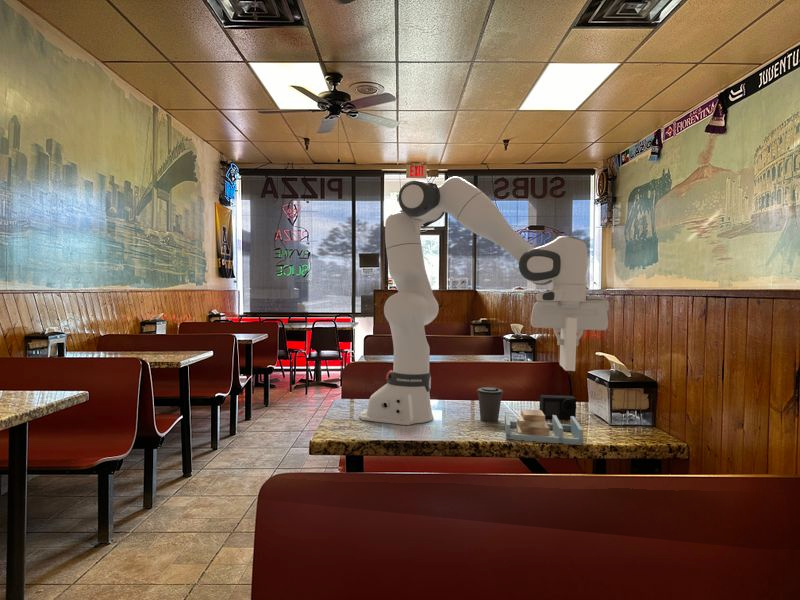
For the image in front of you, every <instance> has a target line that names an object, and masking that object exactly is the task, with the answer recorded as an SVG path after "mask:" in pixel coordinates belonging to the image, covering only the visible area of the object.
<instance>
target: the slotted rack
mask: <svg viewBox="0 0 800 600" xmlns="http://www.w3.org/2000/svg"><path fill="white" fill-rule="evenodd" d="M510 419H511V418H510V413H509V411H505V412H504V432H505V440H506V439H516V440H515V441H518V440H524V441H523V442H532V441H536V443H546V442H547V443H548V442H549V443H548V444H559V443H563V444H562V445H575V446H577V445H578V446H583V445H584V428H582V426H581V424H580V423H579V421H578V420H577V418H576V419H575V417H574V416H570V420H569V424H564V423H563V424H562V423H561V422H560V420H558V418H557V416H556V415H552V420H551V422H549V423H547V422H545V423H546V424H547V425H548V427H549V431H550V430H552V432H553V434H554V435H553V436H552V435H549V436H541V435H527V434H517V433H513V432H512V433H511V428H516V424H517V420H510ZM564 431H567V432H568V431H569V432H571V434H572V436H573V437H567V436H566V437H565V436H564Z"/></svg>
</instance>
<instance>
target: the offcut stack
mask: <svg viewBox="0 0 800 600" xmlns="http://www.w3.org/2000/svg"><path fill="white" fill-rule="evenodd" d="M520 411H521V412H520V416H519V418H517V420H516V421H517V424H516V427H515V428H516V434H527V435H541V436H550V429H549V427H548V425H547V424H546V423H547V422H546V419H545V415H544V413H543V412H542V410H540V409H525V408H523V409H520Z"/></svg>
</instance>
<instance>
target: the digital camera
mask: <svg viewBox="0 0 800 600" xmlns="http://www.w3.org/2000/svg"><path fill="white" fill-rule="evenodd" d="M539 410H542V412H543V413H544V415H545V420H548V421H549V420H551V421H552V415H556V416H557V418H558V420H559V421H570V416H574V417H575V419H576V420H577V418H576V417H577V416H576V415H577V397H574V396H573V395H558V394H557V395H555V394H554V395H553V394H540V395H539Z"/></svg>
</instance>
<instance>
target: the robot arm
mask: <svg viewBox="0 0 800 600" xmlns="http://www.w3.org/2000/svg"><path fill="white" fill-rule="evenodd" d="M397 196H398V197H397V198H398V199H397V201H398V205H399V207H400V209H401V210H399V211H395V212H392V213H391V214H390V215H389V216H387V218H386V219H385V227H384V239H385V249H386V250H385V251H386V258H387V263H388V264H387V265H388V272H389V276H390V277H391V278H392V280H393V282H394V284H395V286H396V290H397V292H396V293H394V294H392V295H390V296H389V297H388V298H387V299H386V301H385V303H384V305H383V314H384V317H385V319H386V321H387V322H388V323H389V327H390V333H391V338H392V345H393V370H391V369H390V370H389V371H388V372H387V373H386V383H385V384H384V385H383V386H381V387H380V388H379V389H377V390H376V391H375V392H374V393H372V394H371V396H370V397H369V400H368V403H367V408H365V409H363V410H361V412H360V413H359V419H360V420H363V421H369V422H376V423H377V422H378V423H387V424H394V425H402V426H403V425H404V426H410V425H413V424H421V423H427V422H430V421H433V420H434V415H433V411H432V404H431V397H430V395H431V393H430V391H431V386H432V381H431V380H432V377H431V372H430V353H431V352H430V351H431V349H430V345H429V342H428V339H427V337H426V329H425V326H428V325H429V324H430V323H432V322H433V321H434V320H436V318H437V316H438V314H439V309H440V308H439V307H440V306H439V303H438V301H437V299H436V297H435V296H434V293H433V289H432V286H431V283H430V280H429V277H428V275H427V270H426V267H425V265H426V264H425V259H424V254H423V253H424V252H423V247H422V246H423V245H422V241H421V239H422V238H421V228H423V229H424V228H426V227H428V226H430V225H432V224H433V223H436V222H438V221H439V220H441V219H442V218H443V217H444V215H445V214H446V213H447V214H448V215H450V217H452V218H454V219H455V220H456V221H457V222H458V223H459V224H460V225H461V226H463V227H464V228H465V229H467V230H469V231H470V232H472V233H473V234H475V235H477V236H479V237H481V238H483V239H485V240H489V241H490V242H492V243H495V244H496V245H497V246H499V247H500V248H502V249H503V250H504V251H505V252H506V253H507V254H509V255H510V257H512V258H513V259H514V260H515V261H517V262H518V269H519V272H520V274H521V276H522V277H523V278H524V279H526V281H529V282H531V283H533V284H534V285H537V286H545V285H548V284H551V283H552V289H546V290H544V291H541V292H538V293H537V294H536V295H535V299H536V302H535V303H534V304H533V306H532V308H531V309H532V310H531V315H530V325H531V327H532V328H539V329H540V328H541V329H553V333H554V335H555V337H556V340H557V341H556V342H557V346H560V345H564V343H563V342H564V339H561V338H560V334H559V333H561V329H564V328H565V317H575V318H577V335H576V347H578V346H579V342H580V341H579V340H580V339H581V338H582V336H583V334H584V330H586V331H587V330H588V331H589V330H590V331H606V330H607V329H608V327H609V318H608V316H609V315H608V312H609V309H610V301H609V300H608V299H607V298H606V297H604V296H603V295H602V296H601V295H599V296H598V295H597V296H595V295H587V292H588V290H587V289H588V287H587V286H588V285H587V282H588V281H587V280H586V277H587V276H586V275H587V271H588V250H587V245H586V243H585V242H584V241H583V240H582V239H580V238H579V237H575V236H569V235H560V236H557V237H556V238H554V239H553V240H552V241H549V242H548V243H546V244H544V245H541V246H537V247H536V246H533V245H532V244H530V242H528V241H527V240H526V239H525V238H523V236H521V235H520V234H519V233H518V232H517V231H516V230H514V229H513V227H512V226H511V225H510V224H509V222H508V221H507V219H506V217H504V215H503V214H502V212H501V211H500V210H499V208H498V207H497V205H496V204H495V203H494V202H493V201H492V199H490V198H489V196H487V195H486V194H485V193H484V192H483V191H482V190H481V189H479V188H478V187H477V186H475V185H474V184H472V183H471V182H469V181H467V180H466V179H464V178H462V177H459V176H452V177H449V178H448V179H446V180H445V181H443V183H442V184H441V185H437V184H436V182H432V181H430V182H429V181H425V180H416V179H415V180H410V181H407V182H406V183H404V184H403V185H402V187H401V188H400V190H399V192H398V195H397Z"/></svg>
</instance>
